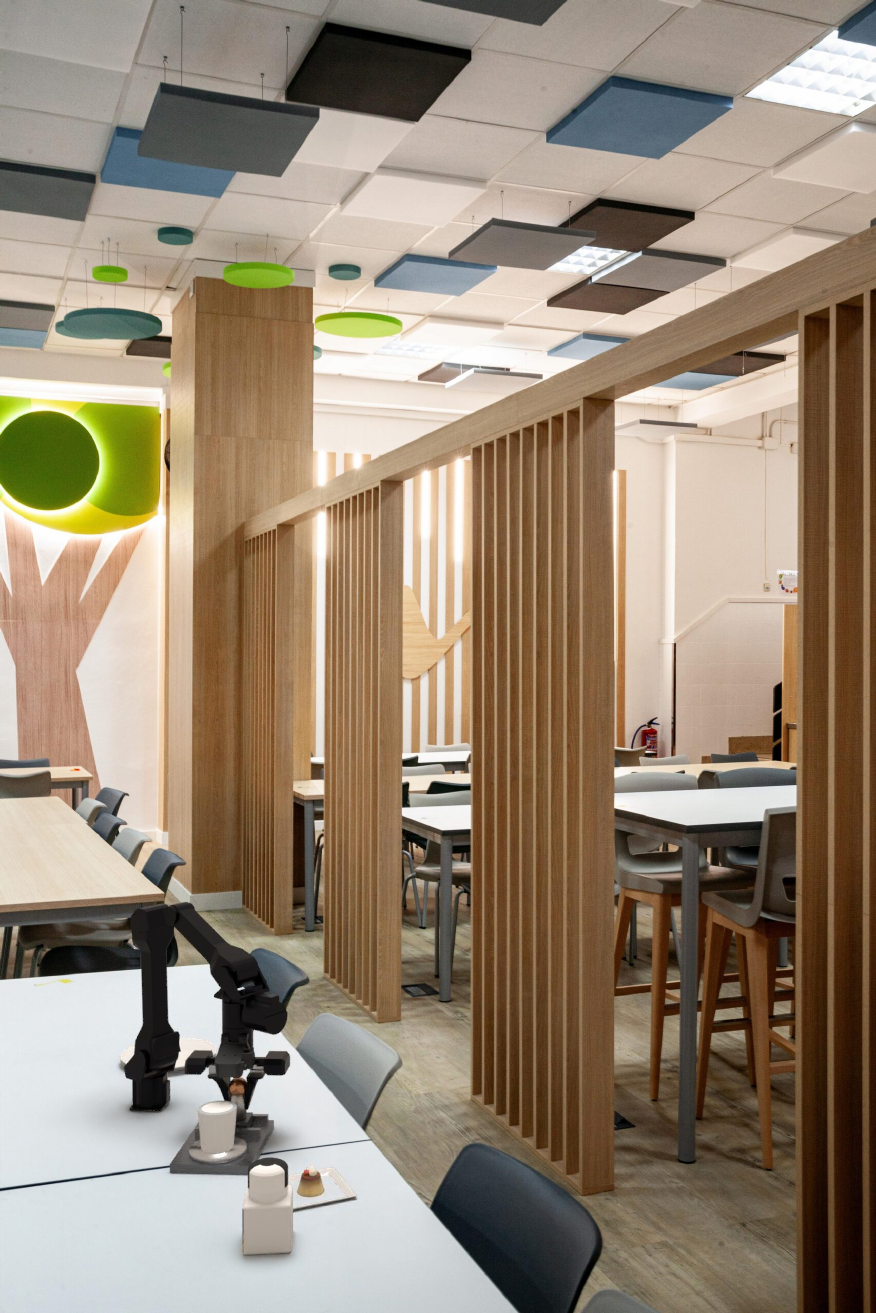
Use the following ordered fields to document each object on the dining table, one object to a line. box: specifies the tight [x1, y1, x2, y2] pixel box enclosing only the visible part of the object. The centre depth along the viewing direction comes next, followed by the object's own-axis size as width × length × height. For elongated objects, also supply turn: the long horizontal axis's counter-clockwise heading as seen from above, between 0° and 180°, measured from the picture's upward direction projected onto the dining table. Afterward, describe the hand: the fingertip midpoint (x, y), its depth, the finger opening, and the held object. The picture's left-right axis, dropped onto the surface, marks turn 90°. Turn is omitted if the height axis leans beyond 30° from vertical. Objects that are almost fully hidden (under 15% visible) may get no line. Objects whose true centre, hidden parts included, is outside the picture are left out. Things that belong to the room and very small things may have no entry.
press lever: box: [228, 1076, 254, 1128], centre depth 211 cm, size 4×5×9 cm
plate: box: [119, 1037, 218, 1073], centre depth 252 cm, size 21×21×2 cm
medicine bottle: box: [241, 1156, 294, 1256], centre depth 171 cm, size 7×7×12 cm
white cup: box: [196, 1100, 237, 1153], centre depth 200 cm, size 7×7×7 cm
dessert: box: [288, 1165, 357, 1211], centre depth 188 cm, size 12×12×5 cm
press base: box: [169, 1113, 275, 1176], centre depth 205 cm, size 14×20×3 cm
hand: (238, 1108), depth 211 cm, fingers closed on press lever, 3 cm apart
